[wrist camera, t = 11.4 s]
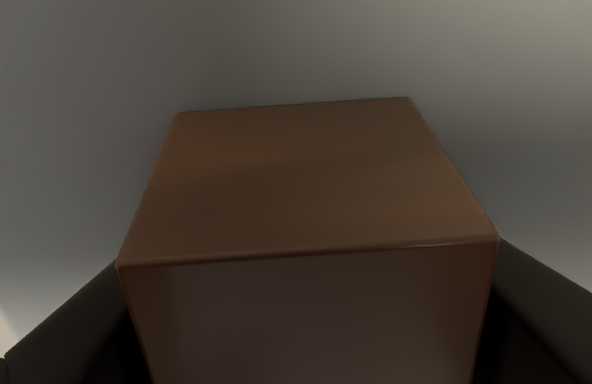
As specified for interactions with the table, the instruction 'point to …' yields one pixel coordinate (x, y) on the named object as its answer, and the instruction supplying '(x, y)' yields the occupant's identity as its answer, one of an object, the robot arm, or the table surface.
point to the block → (307, 250)
